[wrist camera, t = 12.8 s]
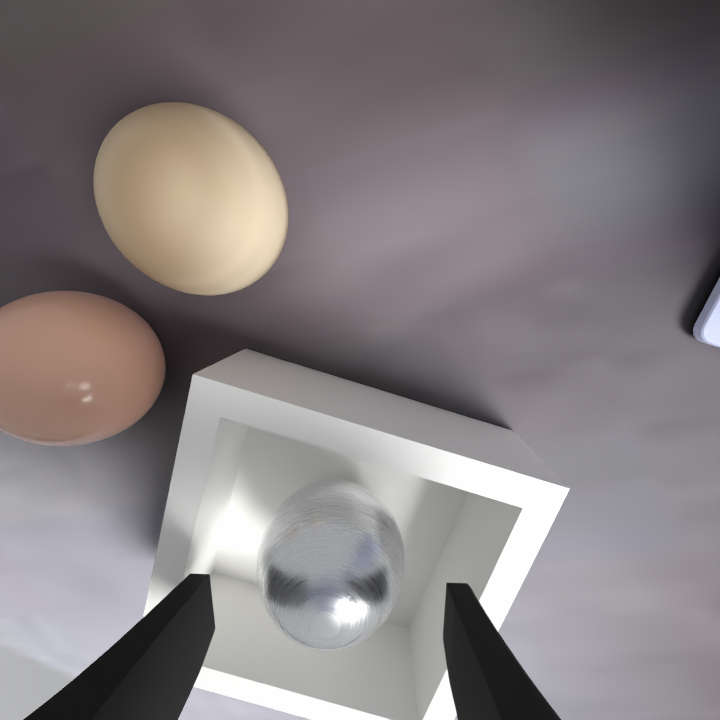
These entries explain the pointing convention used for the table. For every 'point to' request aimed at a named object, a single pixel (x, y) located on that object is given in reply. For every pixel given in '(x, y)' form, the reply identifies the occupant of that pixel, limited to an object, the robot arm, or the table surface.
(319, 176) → the table surface
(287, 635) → the steel ball
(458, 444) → the off-white bin
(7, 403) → the terracotta ball
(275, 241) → the light oak ball
